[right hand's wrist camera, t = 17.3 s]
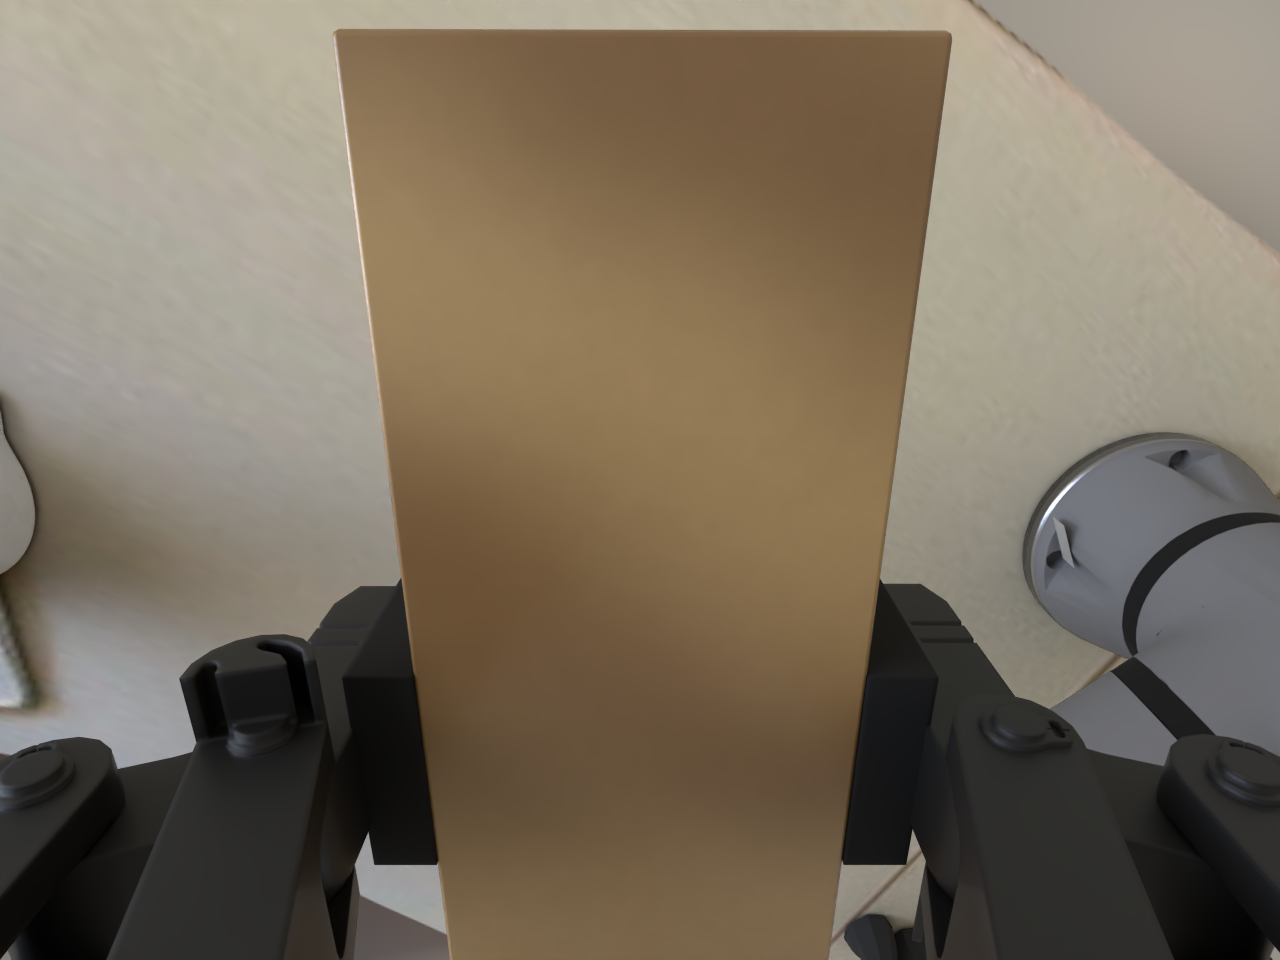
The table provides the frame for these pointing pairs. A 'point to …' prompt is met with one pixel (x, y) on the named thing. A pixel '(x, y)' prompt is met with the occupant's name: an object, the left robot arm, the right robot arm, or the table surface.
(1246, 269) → the table surface
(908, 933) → the robot
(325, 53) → the table surface
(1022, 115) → the table surface
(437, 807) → the post
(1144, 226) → the table surface
